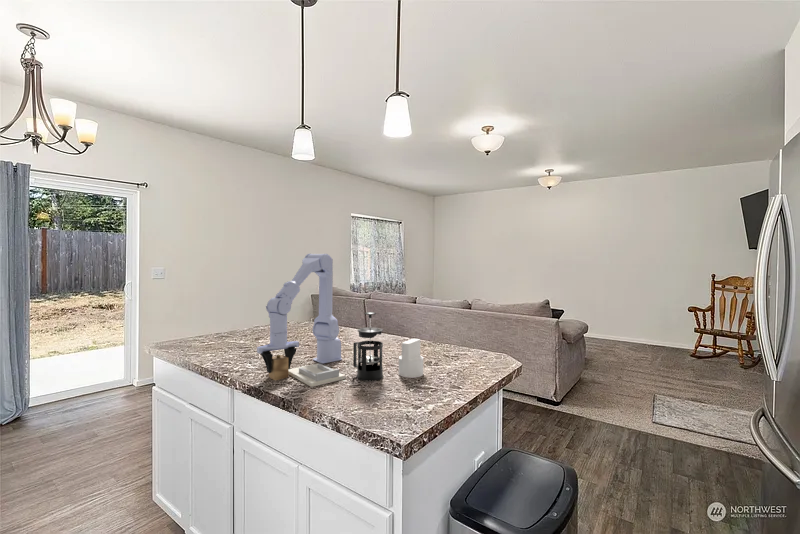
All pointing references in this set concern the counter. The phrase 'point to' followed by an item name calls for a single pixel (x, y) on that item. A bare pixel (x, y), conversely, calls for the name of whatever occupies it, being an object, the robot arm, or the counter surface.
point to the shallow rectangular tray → (316, 374)
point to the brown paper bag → (279, 367)
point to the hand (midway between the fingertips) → (278, 370)
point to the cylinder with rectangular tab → (411, 359)
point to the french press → (370, 365)
